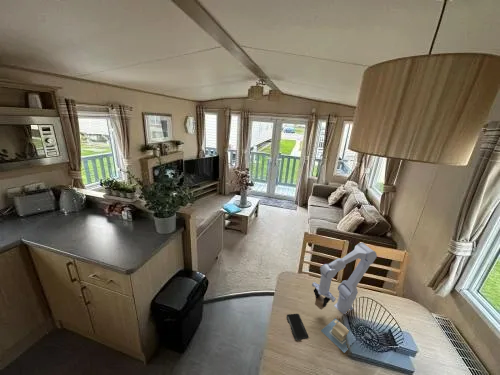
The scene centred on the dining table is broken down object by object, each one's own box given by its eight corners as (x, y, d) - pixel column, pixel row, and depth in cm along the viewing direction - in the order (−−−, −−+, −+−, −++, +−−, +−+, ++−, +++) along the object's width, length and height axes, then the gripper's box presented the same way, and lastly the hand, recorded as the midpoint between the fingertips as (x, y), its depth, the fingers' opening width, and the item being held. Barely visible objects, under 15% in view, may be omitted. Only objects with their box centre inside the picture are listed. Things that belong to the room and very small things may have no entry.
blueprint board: (335, 319, 124) (335, 318, 124) (358, 338, 113) (358, 337, 113) (320, 331, 116) (320, 330, 116) (344, 353, 105) (344, 352, 105)
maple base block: (337, 327, 119) (339, 321, 117) (347, 335, 114) (349, 330, 113) (331, 332, 115) (332, 327, 114) (341, 341, 111) (343, 336, 109)
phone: (295, 339, 110) (286, 314, 124) (295, 341, 110) (285, 316, 124) (309, 338, 111) (298, 313, 125) (309, 339, 112) (298, 314, 126)
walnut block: (319, 301, 128) (320, 295, 127) (325, 306, 125) (327, 300, 124) (314, 304, 126) (315, 298, 124) (321, 309, 122) (322, 303, 121)
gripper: (310, 279, 124) (306, 297, 128) (331, 295, 113) (327, 315, 117) (317, 274, 128) (314, 292, 132) (339, 290, 117) (334, 309, 121)
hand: (320, 302), depth 125 cm, fingers closed on walnut block, 4 cm apart
